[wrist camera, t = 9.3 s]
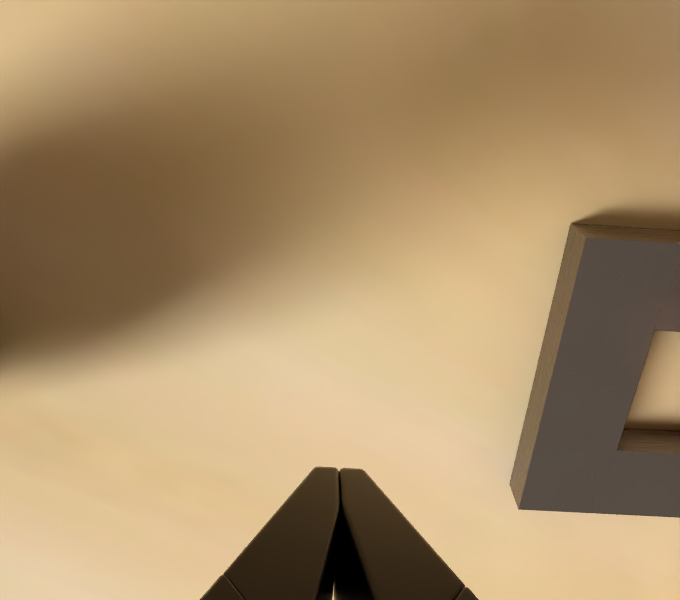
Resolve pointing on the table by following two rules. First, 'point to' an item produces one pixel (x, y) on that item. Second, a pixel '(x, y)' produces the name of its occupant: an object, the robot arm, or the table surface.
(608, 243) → the plate
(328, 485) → the robot arm
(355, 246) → the table surface
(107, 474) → the table surface
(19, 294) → the table surface
